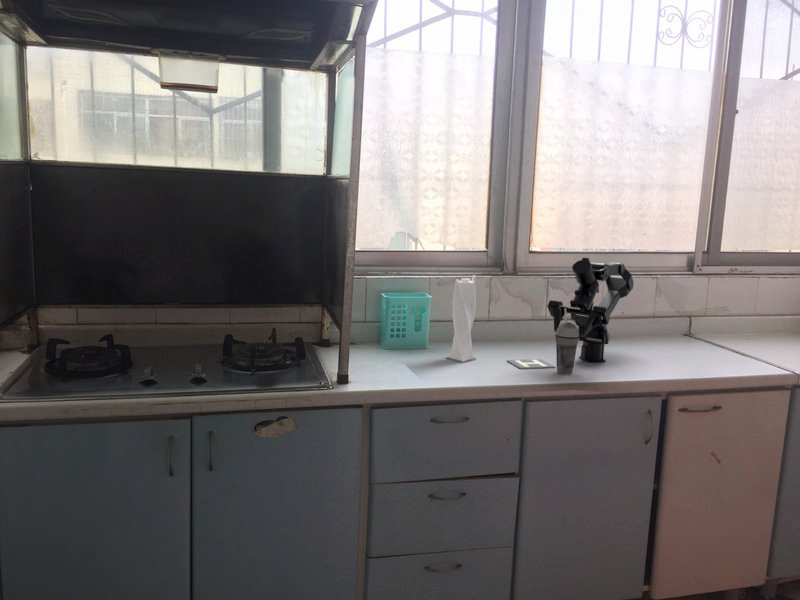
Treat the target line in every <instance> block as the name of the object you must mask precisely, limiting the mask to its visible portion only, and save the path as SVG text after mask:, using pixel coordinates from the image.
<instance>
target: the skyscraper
mask: <svg viewBox="0 0 800 600" xmlns="http://www.w3.org/2000/svg"><path fill="white" fill-rule="evenodd" d="M476 277H477V276H476V275H475V274H472V276H471V278H467V277H466V278H465V277H464V278H461V279H460V280H459V279H458V278H456V279H455V284H454V287H453V288H454V290H453V295H452V306H451V307H452V308H451V309H452V310H451V311H452V313H451V315H452V323H453V328H454V329H453V330H454V334H453V338H452V339H453V340H452V346H451V350H450V355H449V356H446V357H445V359H447V360H451V361H456V362H459V363H462V362H464V363H467V362H471V360H472V361H475V359H476V360H477V357H474V355H473V342H472V334H471V333H472V332H471V331H472V328H473V324H474V321H475V316H476V308H477V291H476V290H477V289H476V288H477V287H476V279H477V278H476Z"/></svg>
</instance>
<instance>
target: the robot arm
mask: <svg viewBox="0 0 800 600" xmlns="http://www.w3.org/2000/svg"><path fill="white" fill-rule="evenodd" d="M572 272H573V275H574V277H575V278H574V279H575V281H576V283H578V284H579V286H578V288H577V289H575V290H574V297H573V299H571V300H570V302H569V304H570V306H568V305H564V304H563V301H561V300H555V299H554V300H553V299H552V300H549V301H548V303H547V305H546V306H547V309H548V311H549V312H548V313H549V314H550V316H551V317H552V318H553V331H554V332H555V333H556V330H557V328H558V327H559V326H560V325H561V321H563V320H564V318H565V310H564V308H566V314H570V321H574V323H575V326H576V327H578V328H577V329H578V331H579V340H578V342H582V345H581V350H580V355H579V356H578V357H579V359H581V360H584V361H586V362H588V363H596V362H597V363H599V362H601V363H602V362H605V363H606V361H607V359H604V352H605V345H609V342H610V337H611V336H610V334H609V330H608V326H607V325H609V322H610V319H611V317H610V316H611V314H612V312H613V311H614V310H615V307H616V306H617V305H618V303H619V302H620V299H622V298H626V297H628V295H629V294H630V293H631V291H633V290H634V279H633V275H632V273H631V272H629V270H628V269H627V268H626V266H625V264H624V263H622V262H617V261H616V262H614V261H611V262H610V261H609V262H607V263H603V262H592V261H590V258H589V257H582V259H580V260H578V261H576V262H574V263H573V265H572ZM599 281H600V282H605V284H606V290H607V291H606V293H605V294H604V296H603V297H602V299H601V301H600V303H599V304H598V305H594V304H595V302H594V300H595V297H596V294H598V293H600V288H599V287H600V283H599ZM563 317H564V318H563Z"/></svg>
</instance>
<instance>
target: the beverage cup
mask: <svg viewBox="0 0 800 600" xmlns="http://www.w3.org/2000/svg"><path fill="white" fill-rule="evenodd" d="M564 310H565V314H564V323H560V324H559V327H558V328H557V330H556V332H555V335H554V336H555V342H556V351H555V352H556V373H557V372H558V374H559V373H560V375H564V374H570V375H572V374H573V370H574V366H575V365H574V364H575V360H576V353H577V348H578V347H577V346H578V344H579V331H578V329H579V328H578V326H577V325H576V324H573V323H572V322H568V318H567V313H566V308H564Z"/></svg>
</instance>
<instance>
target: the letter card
mask: <svg viewBox="0 0 800 600" xmlns="http://www.w3.org/2000/svg"><path fill="white" fill-rule="evenodd" d="M507 361H508V362H507ZM506 362H507V363H509V364H511V365H512V364H513V365H512V366H514V367H516V368H517V367H518V369H519V368H520V369H519V370H530V369H529V368H537V369H555V368H556V365H553V364H551V363H550V362H547V361H545V360H543V359H541V358H529V359H528V358H527V359H507V360H506ZM554 367H555V368H554Z"/></svg>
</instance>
